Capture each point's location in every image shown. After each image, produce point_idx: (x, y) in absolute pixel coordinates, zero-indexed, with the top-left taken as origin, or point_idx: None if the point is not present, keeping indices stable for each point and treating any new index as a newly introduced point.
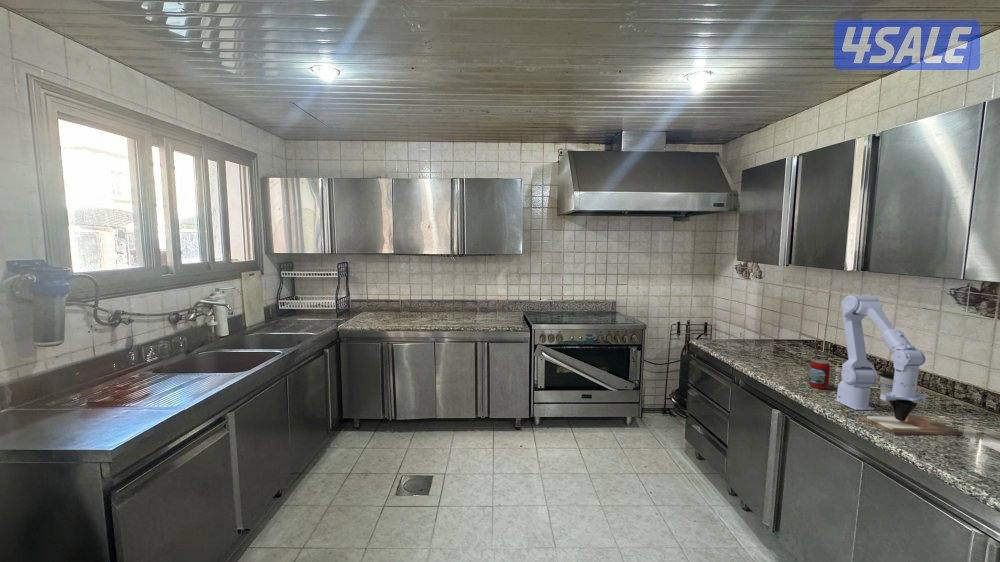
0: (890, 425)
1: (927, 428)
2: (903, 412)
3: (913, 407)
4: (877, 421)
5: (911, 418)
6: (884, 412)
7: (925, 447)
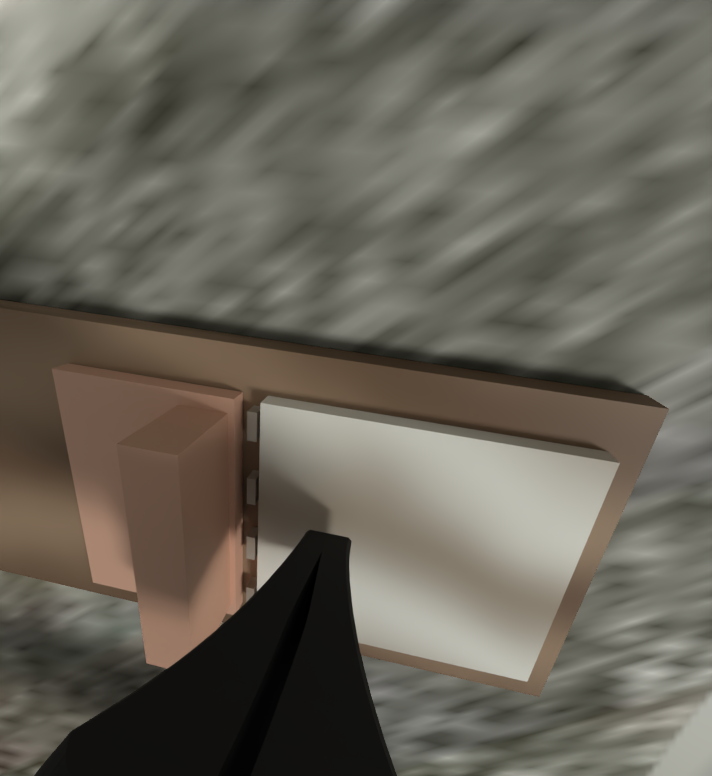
0: (545, 513)
1: (186, 388)
2: (341, 637)
3: (148, 702)
4: (556, 600)
5: (204, 541)
6: None
7: (696, 43)
